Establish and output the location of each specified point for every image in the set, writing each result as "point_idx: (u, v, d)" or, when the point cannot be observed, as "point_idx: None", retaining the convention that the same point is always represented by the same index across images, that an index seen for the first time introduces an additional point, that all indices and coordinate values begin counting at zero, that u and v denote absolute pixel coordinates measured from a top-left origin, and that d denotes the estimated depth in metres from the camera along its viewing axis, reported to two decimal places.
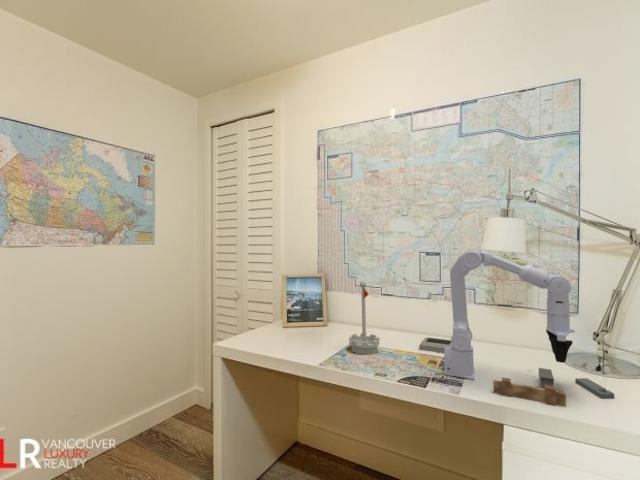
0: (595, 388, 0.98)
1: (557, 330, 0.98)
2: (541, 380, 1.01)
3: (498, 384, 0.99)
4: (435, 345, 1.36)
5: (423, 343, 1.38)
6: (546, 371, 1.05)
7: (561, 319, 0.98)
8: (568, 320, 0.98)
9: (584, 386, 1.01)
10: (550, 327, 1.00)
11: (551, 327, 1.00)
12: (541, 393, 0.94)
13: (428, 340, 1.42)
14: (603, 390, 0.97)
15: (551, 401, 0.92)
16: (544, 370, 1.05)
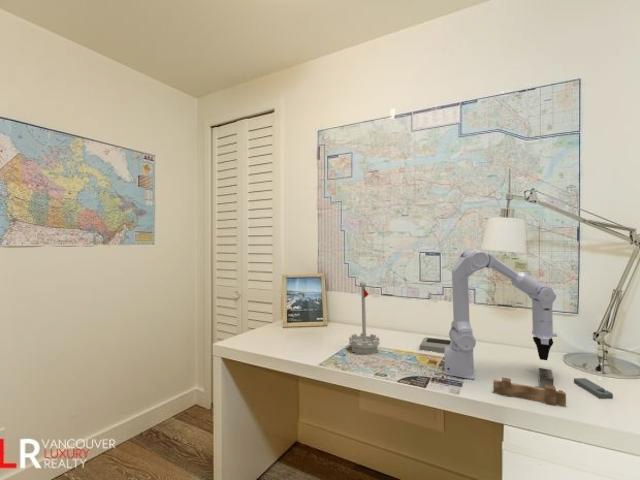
0: (594, 388, 0.98)
1: (541, 334, 1.09)
2: (541, 380, 1.01)
3: (498, 384, 0.99)
4: (436, 345, 1.36)
5: (423, 343, 1.38)
6: (546, 371, 1.05)
7: (545, 325, 1.09)
8: (551, 325, 1.09)
9: (583, 386, 1.01)
10: (535, 332, 1.11)
11: (536, 332, 1.10)
12: (541, 393, 0.94)
13: (428, 340, 1.41)
14: (602, 390, 0.97)
15: (551, 401, 0.92)
16: (544, 370, 1.05)
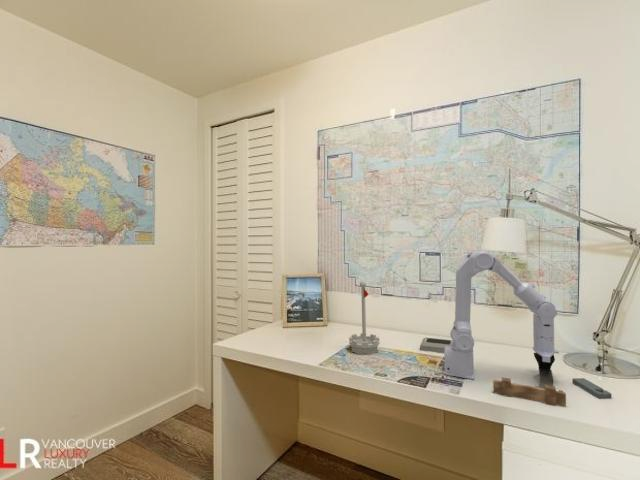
0: (592, 388, 0.98)
1: (542, 351, 1.06)
2: (540, 380, 1.01)
3: (498, 384, 0.99)
4: (436, 345, 1.36)
5: (424, 343, 1.38)
6: (546, 371, 1.04)
7: (546, 341, 1.05)
8: (553, 342, 1.05)
9: (581, 386, 1.01)
10: (536, 348, 1.07)
11: (537, 348, 1.07)
12: (541, 393, 0.94)
13: (428, 340, 1.41)
14: (600, 390, 0.97)
15: (551, 401, 0.92)
16: (544, 370, 1.05)
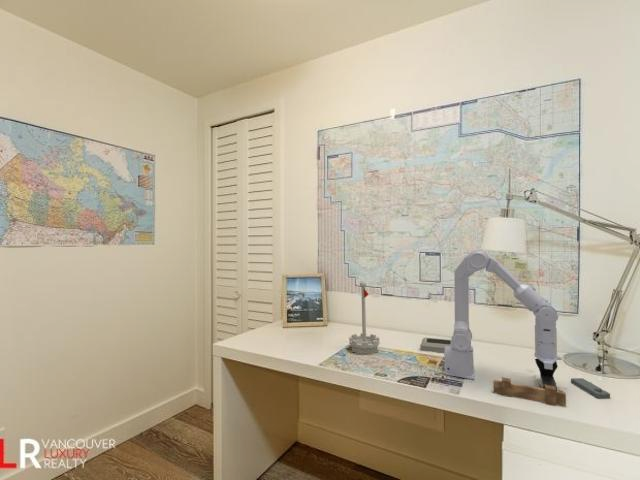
0: (591, 388, 0.98)
1: (544, 357, 1.00)
2: (544, 388, 0.95)
3: (498, 384, 0.99)
4: (437, 345, 1.35)
5: (424, 344, 1.38)
6: (548, 378, 0.99)
7: (548, 347, 1.00)
8: (555, 348, 1.00)
9: (580, 386, 1.01)
10: (538, 354, 1.02)
11: (539, 354, 1.02)
12: (541, 393, 0.94)
13: (428, 340, 1.41)
14: (599, 390, 0.97)
15: (551, 401, 0.92)
16: (546, 377, 1.00)
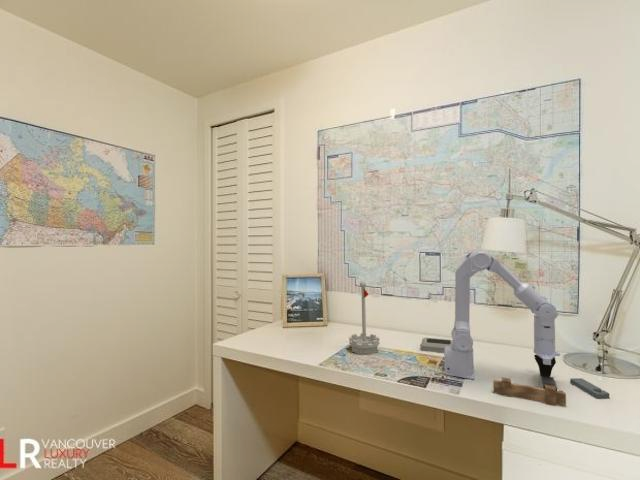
0: (590, 388, 0.98)
1: (543, 353, 1.04)
2: None
3: (498, 384, 0.99)
4: (437, 345, 1.35)
5: (424, 344, 1.37)
6: (548, 379, 0.99)
7: (547, 343, 1.03)
8: (554, 344, 1.03)
9: (579, 386, 1.01)
10: (537, 350, 1.05)
11: (538, 350, 1.05)
12: (541, 393, 0.94)
13: (428, 340, 1.41)
14: (598, 390, 0.97)
15: (551, 401, 0.92)
16: (546, 378, 1.00)
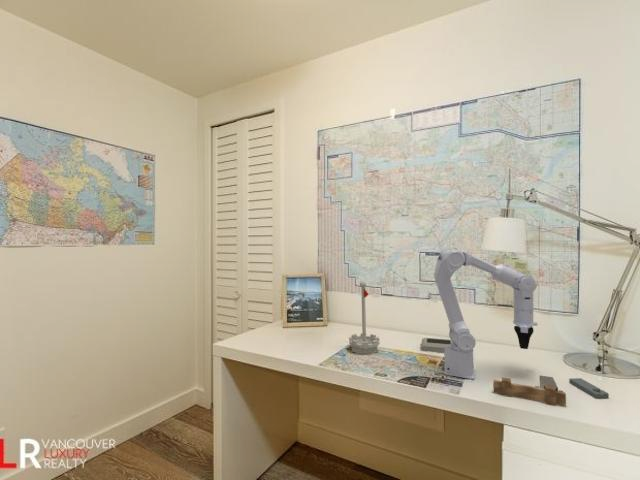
0: (589, 388, 0.98)
1: (522, 323, 1.09)
2: None
3: (498, 384, 0.99)
4: (437, 345, 1.35)
5: (425, 344, 1.37)
6: (548, 379, 0.99)
7: (525, 313, 1.09)
8: (531, 314, 1.09)
9: (578, 386, 1.01)
10: (516, 320, 1.11)
11: (517, 320, 1.11)
12: (541, 393, 0.94)
13: (428, 341, 1.41)
14: (597, 390, 0.97)
15: (551, 401, 0.92)
16: (546, 378, 1.00)
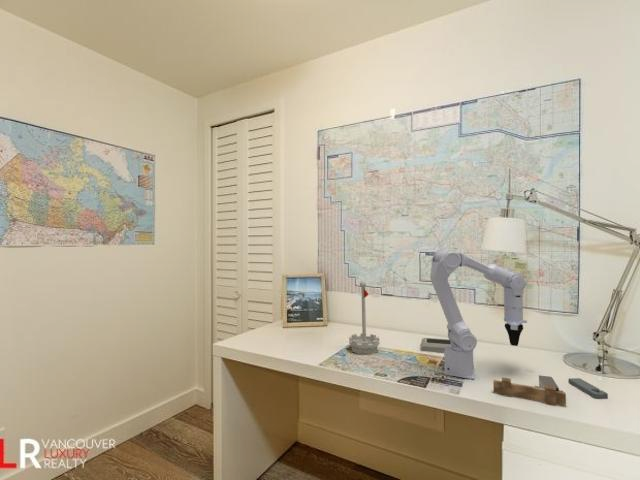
0: (589, 388, 0.98)
1: (512, 321, 1.12)
2: None
3: (498, 384, 0.99)
4: (438, 345, 1.35)
5: (425, 344, 1.37)
6: (548, 379, 0.99)
7: (515, 311, 1.12)
8: (521, 312, 1.12)
9: (577, 386, 1.01)
10: (506, 318, 1.14)
11: (507, 318, 1.14)
12: (541, 393, 0.94)
13: (428, 341, 1.41)
14: (596, 390, 0.97)
15: (551, 401, 0.92)
16: (545, 378, 1.00)
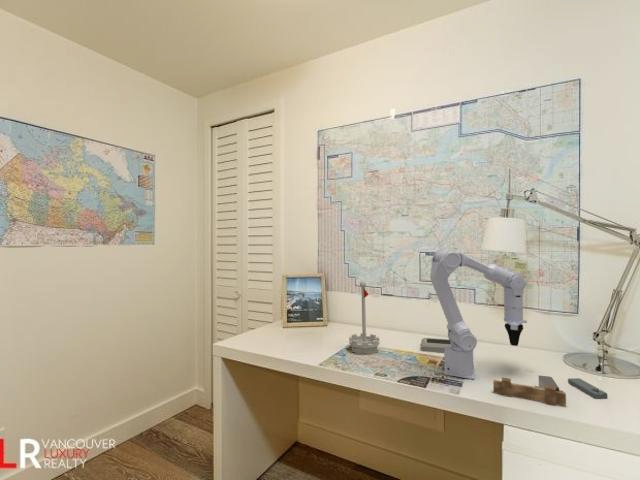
0: (588, 388, 0.98)
1: (512, 321, 1.12)
2: None
3: (498, 384, 0.99)
4: (438, 346, 1.35)
5: (425, 344, 1.37)
6: (548, 379, 0.99)
7: (515, 311, 1.12)
8: (521, 312, 1.12)
9: (577, 386, 1.01)
10: (506, 318, 1.14)
11: (507, 318, 1.14)
12: (541, 393, 0.94)
13: (428, 341, 1.41)
14: (596, 390, 0.97)
15: (551, 401, 0.92)
16: (545, 378, 1.00)
